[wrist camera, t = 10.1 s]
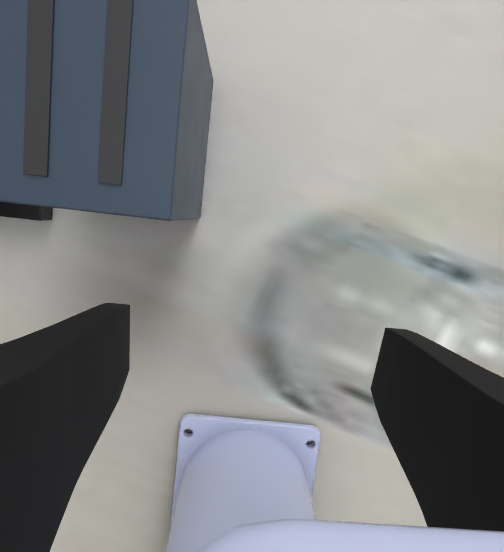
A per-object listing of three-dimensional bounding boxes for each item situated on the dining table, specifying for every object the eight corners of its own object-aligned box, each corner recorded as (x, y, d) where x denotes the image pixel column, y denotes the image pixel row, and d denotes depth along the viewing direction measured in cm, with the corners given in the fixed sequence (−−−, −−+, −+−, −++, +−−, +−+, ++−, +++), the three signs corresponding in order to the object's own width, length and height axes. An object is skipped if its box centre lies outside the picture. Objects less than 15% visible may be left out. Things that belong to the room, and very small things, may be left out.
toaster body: (200, 218, 21) (170, 221, 12) (86, 205, 21) (-31, 198, 12) (213, 79, 20) (190, -30, 11) (93, 63, 20) (-29, -61, 11)
